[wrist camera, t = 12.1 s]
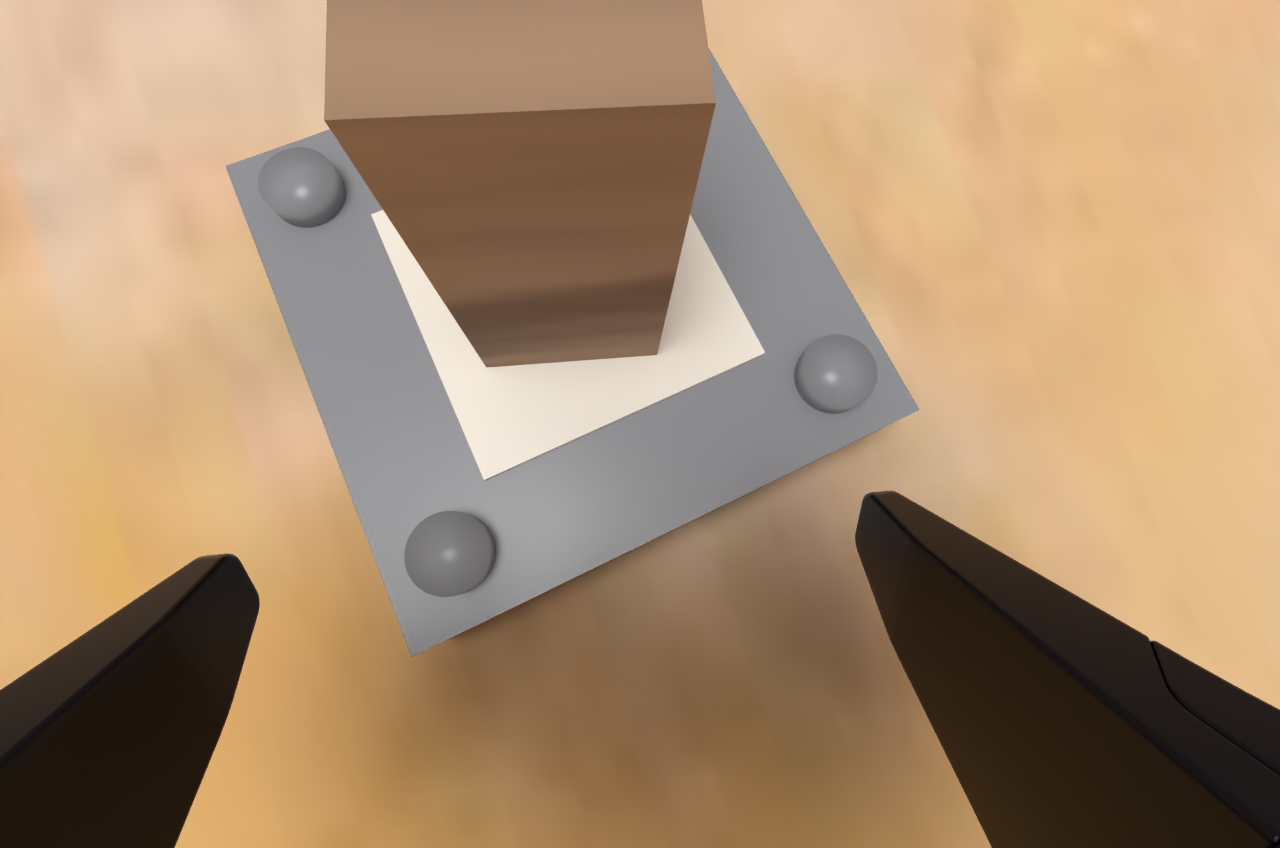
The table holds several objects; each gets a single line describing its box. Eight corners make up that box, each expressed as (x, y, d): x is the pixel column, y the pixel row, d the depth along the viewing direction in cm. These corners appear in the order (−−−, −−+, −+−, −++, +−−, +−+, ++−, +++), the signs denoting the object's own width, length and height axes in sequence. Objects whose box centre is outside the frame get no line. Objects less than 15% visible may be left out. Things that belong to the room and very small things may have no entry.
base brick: (869, 433, 21) (933, 403, 17) (447, 638, 19) (401, 662, 15) (673, 83, 24) (686, -17, 20) (285, 227, 22) (208, 148, 18)
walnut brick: (656, 354, 18) (715, 102, 8) (486, 367, 17) (324, 120, 7) (640, 204, 19) (675, -184, 9) (480, 213, 18) (331, -181, 8)
